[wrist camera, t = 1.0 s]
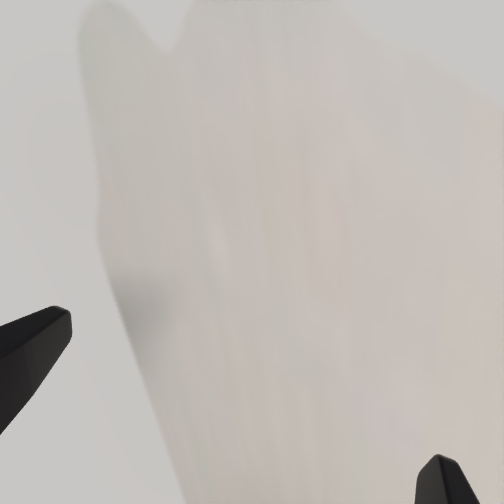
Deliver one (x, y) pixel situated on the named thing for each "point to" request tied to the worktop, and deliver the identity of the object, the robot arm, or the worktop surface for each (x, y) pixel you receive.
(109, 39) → the worktop surface
